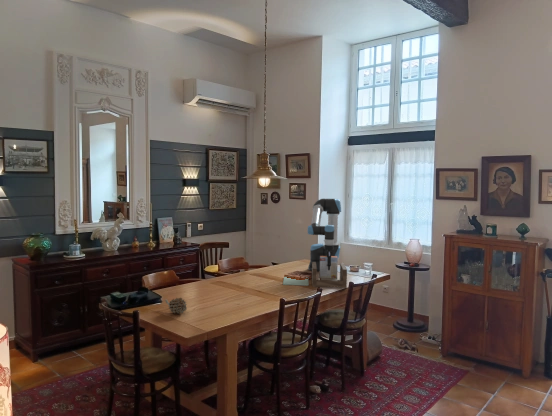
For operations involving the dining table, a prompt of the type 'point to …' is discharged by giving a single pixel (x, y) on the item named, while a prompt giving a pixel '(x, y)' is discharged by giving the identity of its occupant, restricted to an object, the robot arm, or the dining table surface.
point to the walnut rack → (330, 283)
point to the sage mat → (295, 282)
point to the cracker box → (324, 267)
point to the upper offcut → (328, 278)
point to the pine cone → (177, 305)
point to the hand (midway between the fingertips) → (328, 272)
